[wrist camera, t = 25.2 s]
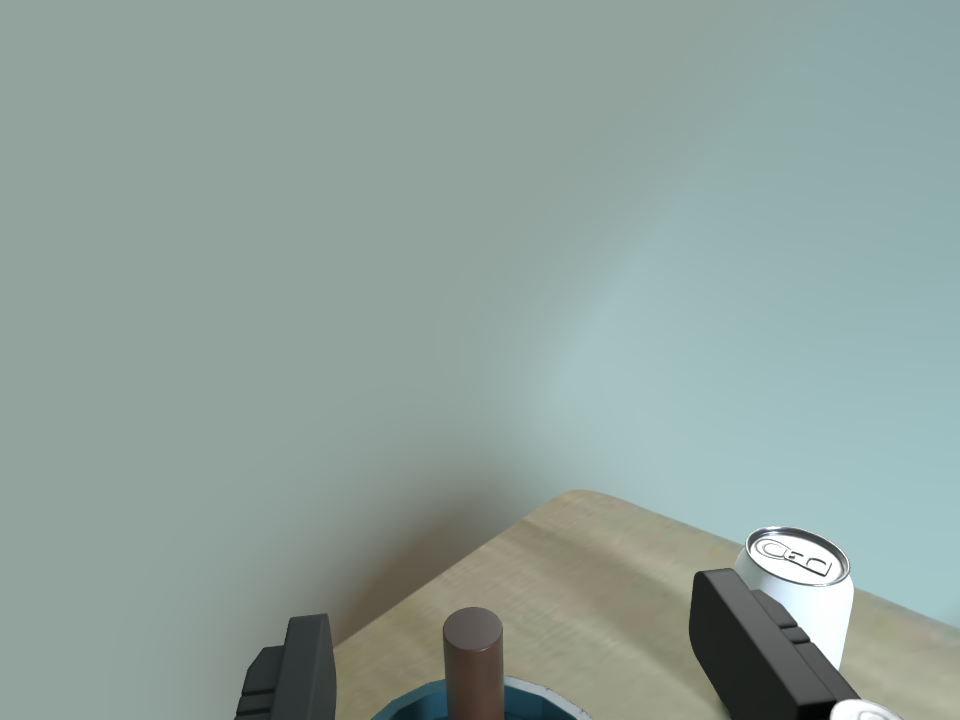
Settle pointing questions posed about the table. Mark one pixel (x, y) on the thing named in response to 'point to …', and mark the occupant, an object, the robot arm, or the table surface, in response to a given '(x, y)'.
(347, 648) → the table surface
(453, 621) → the brown post with base
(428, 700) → the bowl
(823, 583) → the can
